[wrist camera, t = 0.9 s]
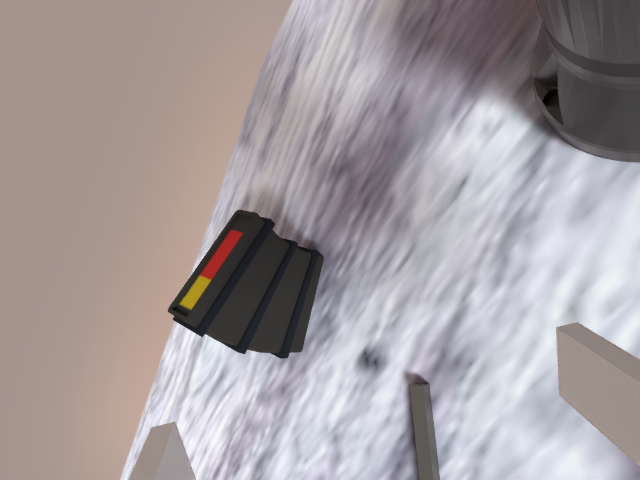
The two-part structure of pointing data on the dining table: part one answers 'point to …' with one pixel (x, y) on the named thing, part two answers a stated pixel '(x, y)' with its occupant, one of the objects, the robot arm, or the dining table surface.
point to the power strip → (424, 432)
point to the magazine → (251, 289)
